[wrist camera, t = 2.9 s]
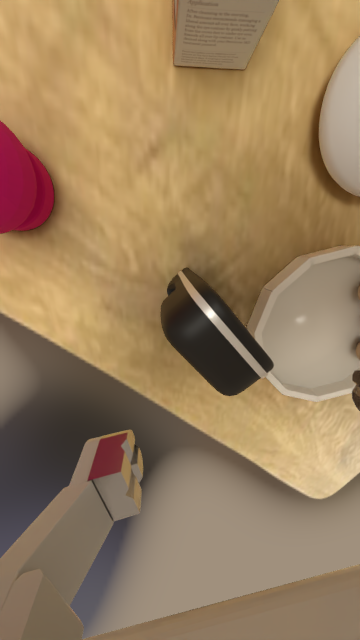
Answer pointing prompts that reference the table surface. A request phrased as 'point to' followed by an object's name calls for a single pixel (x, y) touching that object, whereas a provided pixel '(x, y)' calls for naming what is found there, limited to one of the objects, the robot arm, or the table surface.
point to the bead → (358, 350)
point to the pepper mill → (22, 186)
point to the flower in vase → (343, 122)
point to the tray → (312, 324)
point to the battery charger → (211, 335)
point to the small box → (218, 31)
